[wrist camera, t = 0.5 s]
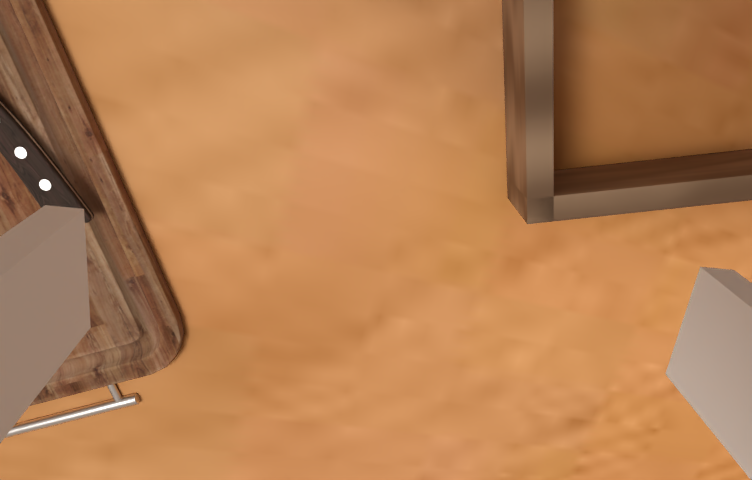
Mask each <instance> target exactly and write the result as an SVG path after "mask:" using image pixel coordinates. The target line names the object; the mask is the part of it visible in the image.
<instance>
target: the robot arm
mask: <svg viewBox="0 0 752 480" xmlns="http://www.w3.org/2000/svg"><path fill="white" fill-rule="evenodd" d="M90 328H91V325H90V308H89V290H88V272H87V254H86V237H85V219H84V209H81V208H70V207H59V206H49V205H45V206H43V207H42V208H40V209H39V210H38V211H36V212H35V213H33V214H32V215H30V216H29V217H28V218H26V219H25V220H23V221H22V222H20V223H19V224H17V225H16V226H15V227H13V228H12V229H10V230H9V231H7V232H6V233H5V234H3V235H2V236H0V443H1V442H2V440H3V439H4V438H5V436H6V435H7V434H8V433H9V431H10V430H11V429H12V427H13V426H14V425H15V424H16V422H17V421H18V420H19V418H20V417H21V416H22V415H23V413H24V412H25V411H26V410H27V408H28V407H29V406H30V404H31V403H32V402H33V401H34V399H35V398H36V397H37V395H38V394H39V393H40V392H41V390H42V389H43V388H44V386H45V385H46V384H47V383H48V381H49V380H50V379H51V377H52V376H53V375H54V374H55V372H56V371H57V370H58V369H59V367H60V366H61V365H62V363H63V362H64V361H65V360H66V358H67V357H68V356H69V354H70V353H71V352H72V351H73V349H74V348H75V347H76V345H77V344H78V343H79V342H80V340H81V339H82V338H83V337H84V335H85V334H86V333H87V331H88V330H89V329H90ZM666 375H667V377H668V378H669V379H670V380H671V382H672V383H673V384H674V385H675V387H676V388H677V389H678V390H679V392H680V393H681V394H682V395H683V396H684V398H685V399H686V400H687V401H688V403H689V404H690V405H691V406H692V408H693V409H694V410H695V411H696V412H697V414H698V415H699V416H700V417H701V419H702V420H703V421H704V422H705V424H706V425H707V426H708V427H709V429H710V430H711V431H712V432H713V433H714V435H715V436H716V437H717V438H718V440H719V441H720V442H721V443H722V445H723V446H724V447H725V448H726V449H727V451H728V452H729V453H730V454H731V456H732V457H733V458H734V459H735V461H736V462H737V463H738V464H739V466H740V467H741V468H742V469H743V470H744V472H745V473H746V474H747V475H748V477H749V478H750V479H751V480H752V283H751V282H749V281H748V280H747V279H745V278H744V277H743V276H741V275H740V274H739V273H737V272H736V271H734V270H728V269H718V268H707V267H700V270H699V273H698V276H697V279H696V282H695V285H694V288H693V291H692V294H691V297H690V300H689V303H688V306H687V309H686V313H685V316H684V319H683V322H682V325H681V328H680V331H679V334H678V337H677V340H676V343H675V346H674V349H673V352H672V356H671V359H670V362H669V365H668V368H667V371H666Z"/></svg>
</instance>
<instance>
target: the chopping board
mask: <svg viewBox="0 0 752 480" xmlns="http://www.w3.org/2000/svg"><path fill="white" fill-rule="evenodd" d="M45 205H49V206H59V207H70V208H81V209H84V219H85V237H86V254H87V272H88V290H89V308H90V325H91V328H90V329H89V330H88V331H87V333H86V334H85V335H84V337H83V338H82V339H81V340H80V342H79V343H78V344H77V345H76V347H75V348H74V349H73V351H72V352H71V353H70V354H69V356H68V357H67V358H66V360H65V361H64V362H63V363H62V365H61V366H60V367H59V369H58V370H57V371H56V372H55V374H54V375H53V376H52V377H51V379H50V380H49V381H48V383H47V384H46V385H45V386H44V388H43V389H42V390H41V392H40V393H39V394H38V395H37V397H36V398H35V399H34V401H33V402H32V403H31V404H30V406H31V405H35V404H39V403H43V402H46V401H50V400H54V399H58V398H62V397H66V396H70V395H73V394H77V393H81V392H85V391H89V390H93V389H97V388H100V387H104V386H107V387H108V389H109V391H110V393H111V395H112V396H113V398H114V399H110V400H106V401H102V402H98V403H95V404H91V405H87V406H83V407H79V408H75V409H71V410H67V411H63V412H60V413H56V414H52V415H48V416H44V417H40V418H36V419H32V420H29V421H25V422H21V423H17V424H15V425H14V426H13V427H12V429H11V430H10V431H9V433H8V434H7V435H6V436H5V438H7V437H11V436H15V435H19V434H23V433H27V432H31V431H35V430H39V429H42V428H46V427H50V426H54V425H58V424H62V423H66V422H70V421H74V420H78V419H82V418H85V417H89V416H93V415H97V414H101V413H105V412H109V411H113V410H117V409H121V408H125V407H128V406H132V405H136V404H139V402H140V398H139V396H138V394H137V393H133V394H129V395H126V396H121V394H120V392H119V390H118V388H117V386H116V383H120V382H124V381H128V380H131V379H135V378H139V377H143V376H147V375H150V374H153V373H155V372H157V371H159V370H161V369H163V368H165V367H167V366H168V364H169V363H170V362H171V361H172V360H173V359H174V357H175V356H176V355H177V354H178V352H179V350H180V347H181V343H182V339H183V335H184V329H183V324H182V319H181V315H180V313H179V311H178V308H177V306H176V304H175V301H174V299H173V297H172V295H171V292H170V290H169V288H168V285H167V283H166V281H165V279H164V276H163V274H162V272H161V270H160V267H159V265H158V263H157V260H156V258H155V256H154V254H153V251H152V249H151V247H150V244H149V242H148V240H147V238H146V235H145V233H144V231H143V228H142V226H141V224H140V222H139V219H138V217H137V215H136V213H135V210H134V208H133V206H132V203H131V201H130V199H129V197H128V194H127V192H126V190H125V187H124V185H123V183H122V181H121V178H120V176H119V174H118V171H117V169H116V167H115V165H114V162H113V160H112V158H111V156H110V153H109V151H108V149H107V146H106V144H105V142H104V140H103V137H102V135H101V133H100V130H99V128H98V126H97V124H96V121H95V119H94V117H93V114H92V112H91V110H90V108H89V105H88V103H87V101H86V99H85V96H84V94H83V92H82V89H81V87H80V85H79V83H78V80H77V78H76V76H75V73H74V71H73V69H72V67H71V64H70V62H69V60H68V57H67V55H66V53H65V51H64V48H63V46H62V44H61V42H60V39H59V37H58V35H57V32H56V30H55V28H54V26H53V23H52V21H51V19H50V16H49V14H48V12H47V10H46V7H45V5H44V3H43V0H0V236H2V235H3V234H5V233H6V232H7V231H9V230H10V229H12V228H13V227H15V226H16V225H17V224H19V223H20V222H22V221H23V220H25V219H26V218H28V217H29V216H30V215H32V214H33V213H35V212H36V211H38V210H39V209H40V208H42V207H43V206H45Z"/></svg>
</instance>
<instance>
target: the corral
mask: <svg viewBox="0 0 752 480" xmlns="http://www.w3.org/2000/svg"><path fill="white" fill-rule="evenodd" d="M502 14H503V49H504V84H505V119H506V154H507V189H508V199H509V200H510V202H511V203H512V204H513V206H514V207H515V208H516V210H517V211H518V212H519V214H520V215H521V216H522V218H523V219H524V220H525V222H526V223H527V224H533V223H542V222H552V221H561V220H570V219H580V218H589V217H598V216H608V215H617V214H626V213H636V212H645V211H654V210H664V209H673V208H682V207H692V206H701V205H710V204H720V203H729V202H738V201H748V200H752V149H748V150H739V151H729V152H720V153H711V154H702V155H692V156H683V157H674V158H664V159H655V160H646V161H637V162H627V163H618V164H609V165H599V166H590V167H581V168H572V169H562V170H554V92H553V0H502Z"/></svg>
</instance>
